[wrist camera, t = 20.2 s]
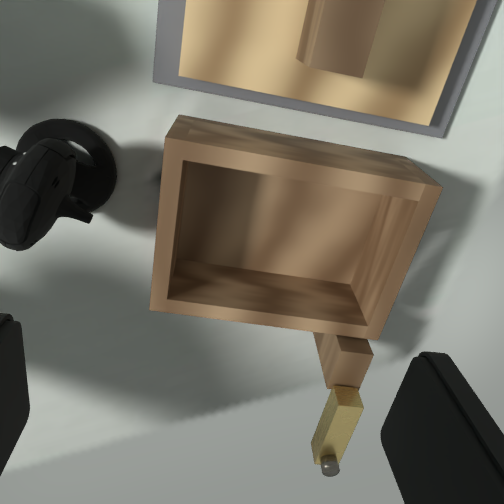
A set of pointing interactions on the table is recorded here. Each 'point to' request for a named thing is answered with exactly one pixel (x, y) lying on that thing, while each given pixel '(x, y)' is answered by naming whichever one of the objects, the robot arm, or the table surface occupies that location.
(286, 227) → the open wooden box
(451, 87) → the mat
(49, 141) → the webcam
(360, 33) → the lid
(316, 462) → the yellow bar with ball
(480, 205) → the table surface
